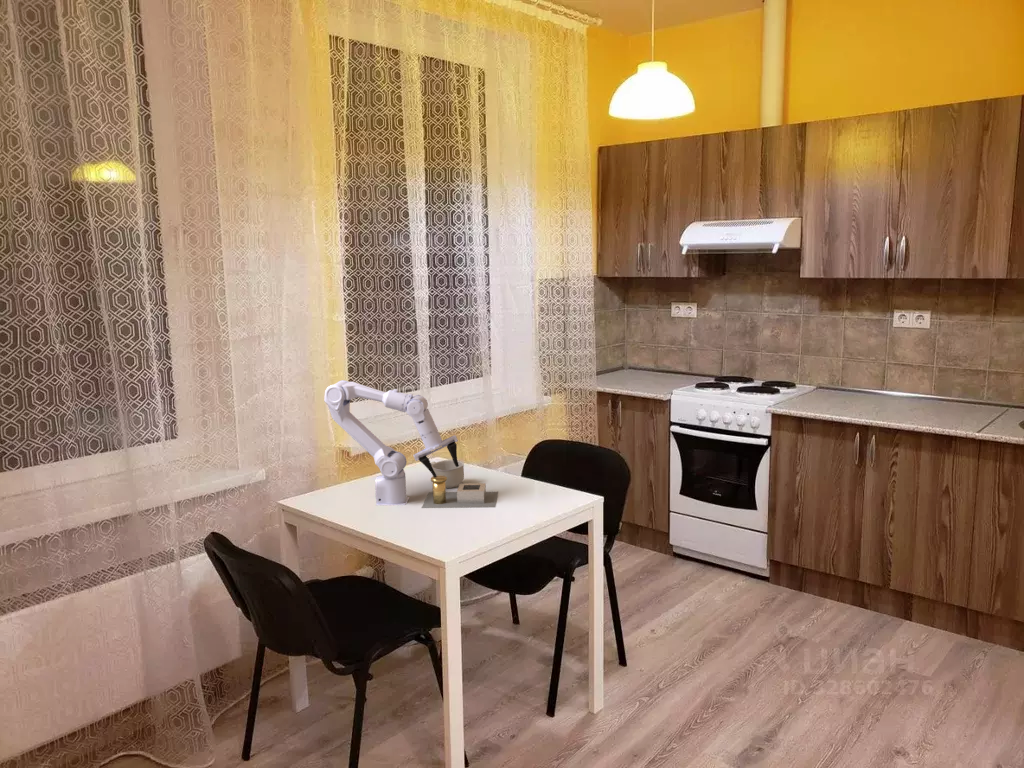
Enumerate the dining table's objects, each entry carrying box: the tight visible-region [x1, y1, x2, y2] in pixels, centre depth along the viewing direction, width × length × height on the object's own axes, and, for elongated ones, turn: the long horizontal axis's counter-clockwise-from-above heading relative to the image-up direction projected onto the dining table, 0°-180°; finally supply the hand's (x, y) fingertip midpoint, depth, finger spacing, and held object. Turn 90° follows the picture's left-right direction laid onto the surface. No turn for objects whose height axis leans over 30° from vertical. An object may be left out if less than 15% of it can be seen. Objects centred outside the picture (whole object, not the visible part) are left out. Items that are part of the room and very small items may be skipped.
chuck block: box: [456, 482, 487, 504], centre depth 244 cm, size 8×8×4 cm
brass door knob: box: [430, 475, 447, 504], centre depth 241 cm, size 5×5×8 cm
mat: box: [421, 491, 499, 509], centre depth 244 cm, size 23×16×1 cm
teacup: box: [430, 459, 465, 489], centre depth 261 cm, size 14×11×8 cm
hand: (446, 471), depth 240 cm, fingers open, 7 cm apart
